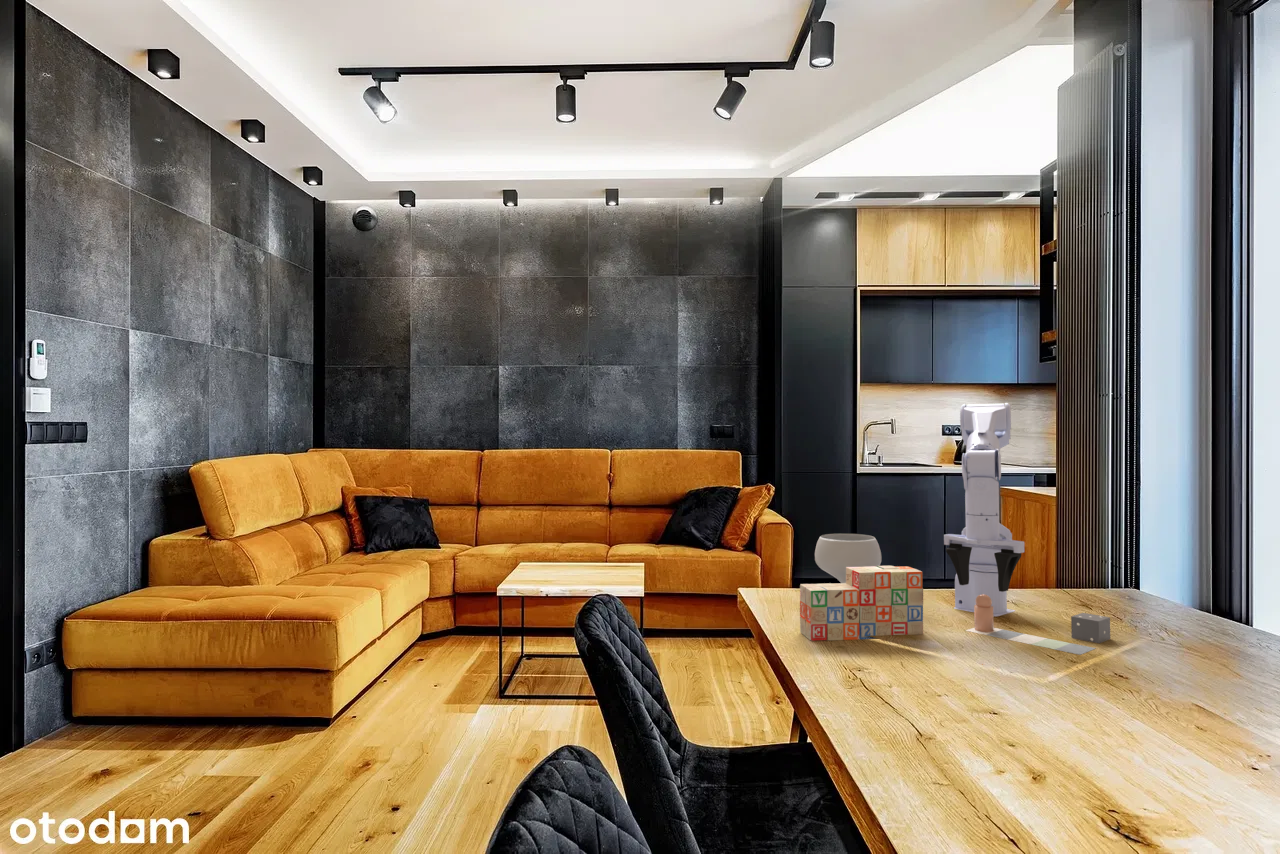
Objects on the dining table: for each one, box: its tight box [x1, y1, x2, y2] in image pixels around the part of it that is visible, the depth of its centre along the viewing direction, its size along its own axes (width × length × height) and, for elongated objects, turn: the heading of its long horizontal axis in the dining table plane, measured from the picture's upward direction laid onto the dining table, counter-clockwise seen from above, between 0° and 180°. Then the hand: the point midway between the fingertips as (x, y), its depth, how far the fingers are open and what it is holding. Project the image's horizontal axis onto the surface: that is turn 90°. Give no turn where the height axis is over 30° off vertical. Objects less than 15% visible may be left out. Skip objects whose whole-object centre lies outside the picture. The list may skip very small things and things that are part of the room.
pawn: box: [973, 594, 995, 632], centre depth 140 cm, size 3×3×7 cm
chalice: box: [814, 533, 882, 583], centre depth 163 cm, size 14×14×15 cm
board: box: [965, 627, 1097, 656], centre depth 133 cm, size 20×6×1 cm, turn 37°
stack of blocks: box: [799, 565, 924, 642], centre depth 140 cm, size 21×6×12 cm, turn 96°
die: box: [1070, 612, 1111, 644], centre depth 133 cm, size 5×5×5 cm
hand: (983, 587), depth 140 cm, fingers open, 7 cm apart
